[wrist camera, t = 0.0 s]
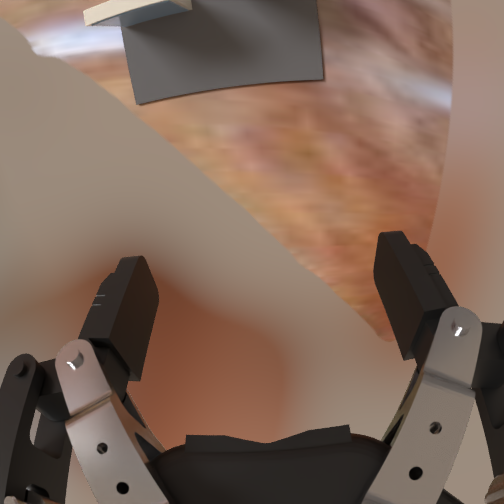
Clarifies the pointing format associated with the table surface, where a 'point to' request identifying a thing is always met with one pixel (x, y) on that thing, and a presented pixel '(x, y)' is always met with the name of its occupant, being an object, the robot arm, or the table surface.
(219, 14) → the mat
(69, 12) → the table surface
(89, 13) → the tile
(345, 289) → the table surface
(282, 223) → the table surface
